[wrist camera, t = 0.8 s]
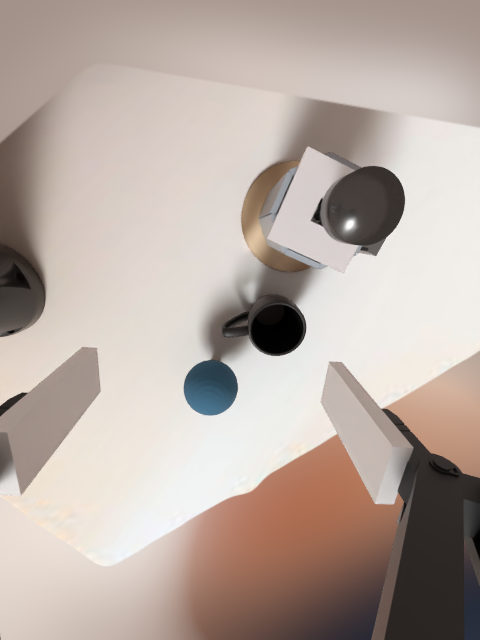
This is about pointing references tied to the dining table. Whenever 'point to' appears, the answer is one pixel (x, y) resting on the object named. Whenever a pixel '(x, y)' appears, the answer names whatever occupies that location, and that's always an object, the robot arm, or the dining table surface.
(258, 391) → the dining table surface
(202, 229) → the dining table surface
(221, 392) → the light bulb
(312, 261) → the carafe
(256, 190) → the cork trivet
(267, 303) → the mug
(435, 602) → the robot arm
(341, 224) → the plunger
